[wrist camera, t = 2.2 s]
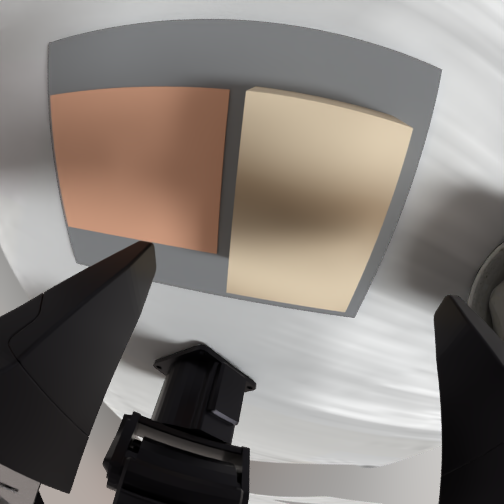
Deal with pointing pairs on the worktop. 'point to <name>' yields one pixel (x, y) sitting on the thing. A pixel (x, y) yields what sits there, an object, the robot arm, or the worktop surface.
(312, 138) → the card box
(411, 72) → the mat
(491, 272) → the ceramic mug
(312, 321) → the worktop surface
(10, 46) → the worktop surface
